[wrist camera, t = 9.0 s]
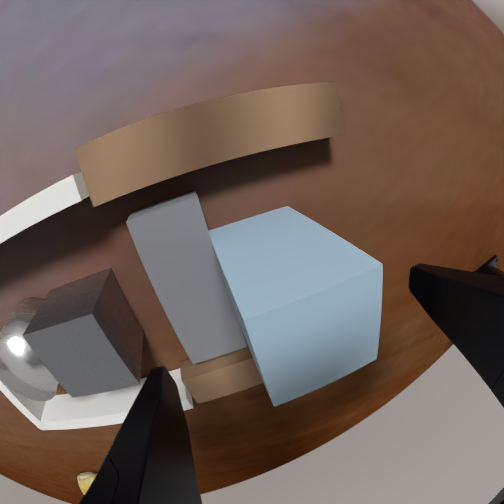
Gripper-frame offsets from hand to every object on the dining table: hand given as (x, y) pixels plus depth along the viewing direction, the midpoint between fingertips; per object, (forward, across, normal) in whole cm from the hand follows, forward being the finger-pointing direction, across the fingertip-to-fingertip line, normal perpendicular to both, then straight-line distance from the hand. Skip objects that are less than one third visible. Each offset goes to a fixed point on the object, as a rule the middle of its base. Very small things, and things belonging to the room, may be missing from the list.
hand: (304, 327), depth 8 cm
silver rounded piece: (+6, +13, 0) cm, 14 cm away
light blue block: (+6, +1, 0) cm, 6 cm away
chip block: (+6, +9, 0) cm, 11 cm away
